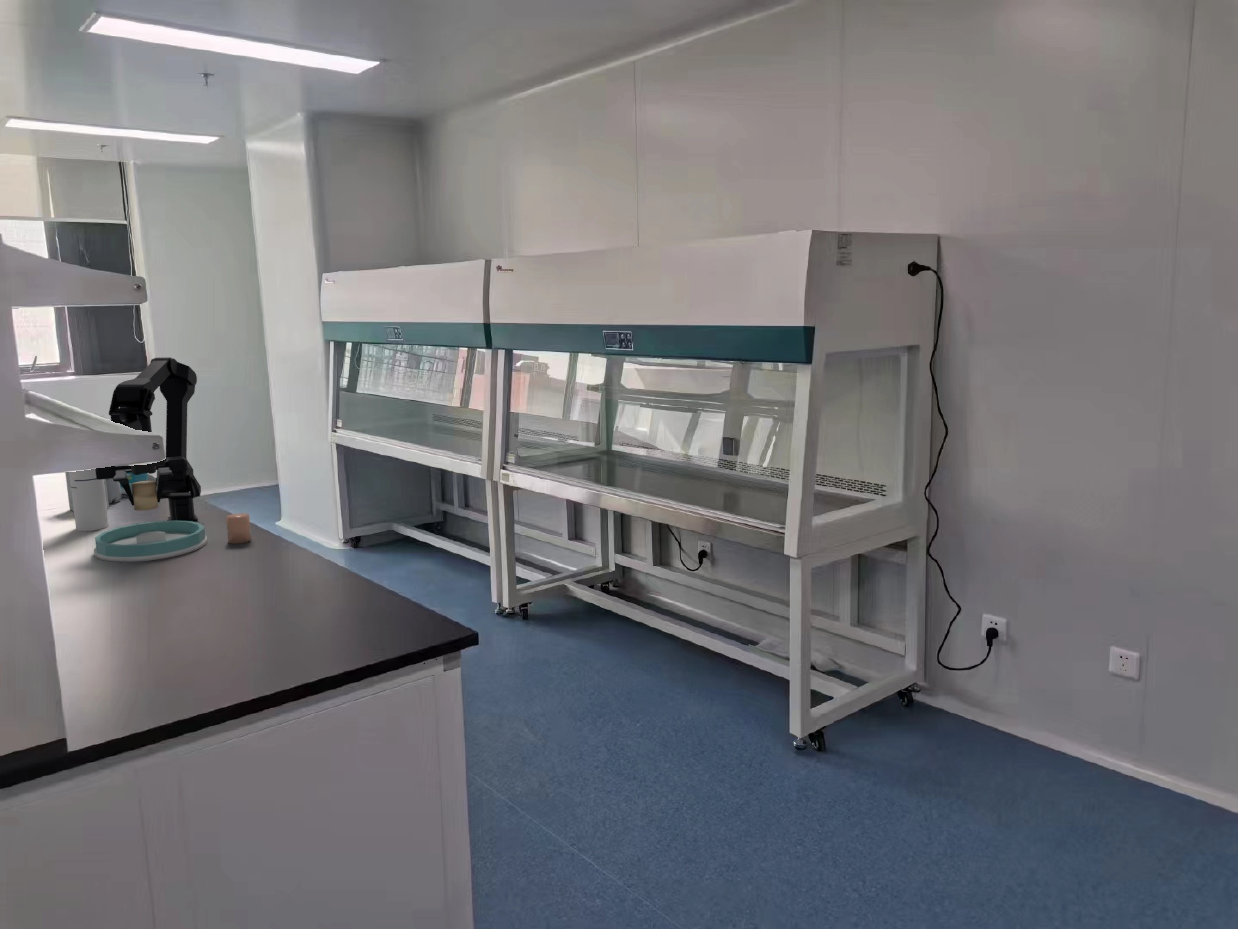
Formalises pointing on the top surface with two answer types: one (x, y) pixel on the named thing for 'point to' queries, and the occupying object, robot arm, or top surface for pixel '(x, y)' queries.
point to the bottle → (113, 490)
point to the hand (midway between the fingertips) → (145, 503)
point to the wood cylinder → (144, 495)
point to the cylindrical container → (88, 501)
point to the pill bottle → (134, 480)
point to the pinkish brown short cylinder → (238, 528)
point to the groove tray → (149, 541)
